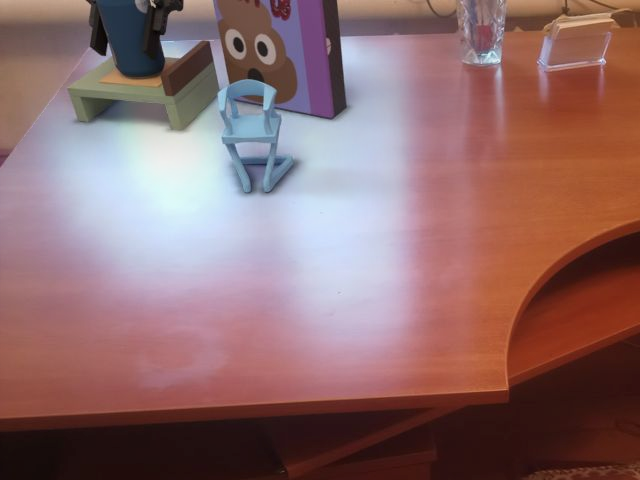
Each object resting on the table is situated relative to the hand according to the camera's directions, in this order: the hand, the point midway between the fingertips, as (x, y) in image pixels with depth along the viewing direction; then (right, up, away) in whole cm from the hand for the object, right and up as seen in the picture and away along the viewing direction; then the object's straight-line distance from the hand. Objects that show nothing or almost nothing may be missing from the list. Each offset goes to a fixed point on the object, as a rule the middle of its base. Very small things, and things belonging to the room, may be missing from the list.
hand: (123, 53), depth 102 cm
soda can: (0, -1, +5) cm, 5 cm away
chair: (+21, -19, -7) cm, 30 cm away
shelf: (0, -5, +9) cm, 10 cm away
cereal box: (+21, -4, +11) cm, 24 cm away
